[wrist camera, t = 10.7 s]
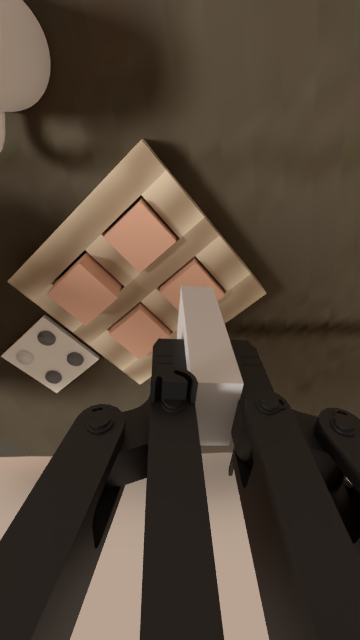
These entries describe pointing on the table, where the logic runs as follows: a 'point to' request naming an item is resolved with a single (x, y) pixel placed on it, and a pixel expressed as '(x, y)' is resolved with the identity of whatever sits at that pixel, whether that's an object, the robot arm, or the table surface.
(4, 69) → the cup
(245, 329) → the table surface
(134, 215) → the button
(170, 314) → the board
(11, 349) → the card
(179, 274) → the button
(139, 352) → the button
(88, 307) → the button
